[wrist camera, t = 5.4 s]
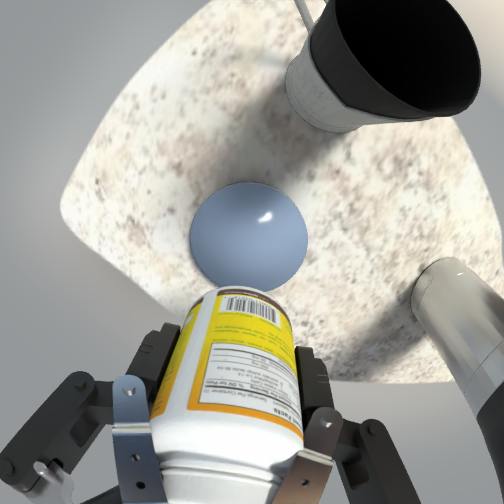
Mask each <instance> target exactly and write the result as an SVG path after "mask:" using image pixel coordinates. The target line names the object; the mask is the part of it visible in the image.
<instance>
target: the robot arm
mask: <svg viewBox="0 0 504 504" xmlns="http://www.w3.org/2000/svg"><path fill="white" fill-rule="evenodd" d="M411 309H412V312H413V314H414V315H415V317H416V318H417V320H418V321H419V323H420V324H421V326H422V327H423V329H424V330H425V332H426V333H427V335H428V336H429V338H430V339H431V341H432V343H433V344H434V346H435V347H436V349H437V350H438V352H439V354H440V355H441V357H442V358H443V360H444V362H445V363H446V365H447V367H448V368H449V370H450V372H451V374H452V375H453V377H454V379H455V380H456V382H457V384H458V386H459V388H460V389H461V391H462V393H463V395H464V397H465V398H466V400H467V402H468V404H469V406H470V408H471V410H472V412H473V414H474V416H475V418H476V420H477V422H478V424H479V426H480V428H481V430H482V433H483V436H484V439H485V442H486V445H487V448H488V451H489V453H490V456H491V458H492V460H493V464H494V467H495V470H496V473H497V476H498V480H499V484H500V488H501V492H502V498H503V503H504V299H503V298H502V297H501V296H500V295H499V294H498V293H497V292H496V291H494V290H493V289H492V288H491V287H490V286H489V285H488V284H487V283H486V282H485V281H483V280H482V279H481V278H480V277H479V276H478V275H477V274H476V273H474V272H473V271H472V270H471V269H470V268H468V267H467V266H466V265H465V264H463V263H462V262H461V261H460V260H458V259H456V258H454V257H447V258H443V259H440V260H438V261H436V262H435V263H433V264H432V265H431V266H429V267H428V268H427V269H426V270H425V271H424V272H423V274H422V275H421V276H420V278H419V279H418V281H417V283H416V285H415V287H414V289H413V292H412V296H411ZM179 335H180V326H179V325H174V324H170V323H165V324H164V325H163V327H162V329H161V331H160V332H158V331H154V330H153V331H151V332H150V333H149V334H147V335H146V336H145V338H144V340H143V341H142V343H141V345H140V347H139V349H138V351H137V353H136V355H135V357H134V359H133V361H132V363H131V364H130V366H129V368H128V371H127V372H126V374H125V375H123V376H120V377H119V378H117V379H116V380H115V381H112V382H104V381H94V379H93V377H92V376H91V375H90V374H89V373H87V372H83V371H77V372H74V373H72V374H70V375H69V376H68V377H67V378H66V379H65V380H64V381H63V382H62V383H61V384H60V386H59V387H58V388H57V389H56V390H55V391H54V392H53V393H52V394H51V395H50V397H48V399H47V400H46V401H45V402H44V403H43V404H42V405H41V406H40V407H39V409H38V410H37V411H36V412H35V413H34V414H33V415H32V416H31V418H30V419H29V420H28V421H27V422H26V423H25V424H24V426H23V427H22V428H21V429H20V430H19V431H18V433H17V434H16V435H15V436H14V437H13V439H12V440H11V441H10V442H9V443H8V445H7V446H6V447H5V448H4V449H3V451H2V452H1V453H0V479H1V480H2V481H3V482H5V483H6V484H8V485H9V486H11V487H12V488H13V489H15V490H16V491H18V492H19V493H21V494H23V495H25V496H26V497H27V498H28V499H29V500H30V501H31V502H32V503H34V504H73V503H72V499H71V496H72V492H73V489H74V482H73V480H72V478H71V476H70V474H71V472H72V471H73V470H74V468H75V467H76V465H77V464H78V462H79V461H80V460H81V458H82V456H83V455H84V454H85V452H86V451H87V449H88V448H89V447H90V445H91V444H92V442H93V441H94V440H95V438H96V437H97V435H98V434H99V433H100V431H101V430H102V429H103V427H104V426H105V425H106V424H111V425H114V427H113V428H112V437H113V447H114V456H115V463H116V470H117V477H118V482H119V485H117V486H115V487H113V488H112V489H110V490H108V491H106V492H104V493H102V494H100V495H98V496H96V497H94V498H91V499H89V500H87V501H85V502H83V503H80V504H169V502H168V499H167V496H166V492H165V488H164V484H163V474H162V473H161V471H163V470H164V469H163V468H159V465H160V461H159V458H158V455H157V452H156V449H155V445H154V441H153V437H152V432H151V427H150V426H149V422H150V418H149V417H150V414H151V411H152V408H153V405H154V402H155V400H156V397H157V394H158V391H159V389H160V386H161V383H162V380H163V377H164V375H165V372H166V369H167V367H168V364H169V361H170V359H171V356H172V353H173V351H174V348H175V346H176V343H177V340H178V338H179ZM294 353H295V362H296V370H297V379H298V388H299V397H300V407H301V418H302V429H303V451H302V450H299V451H298V452H297V454H296V456H295V458H294V459H293V461H292V462H291V464H290V465H289V466H288V467H287V468H286V469H285V471H284V472H283V473H282V474H281V475H280V476H279V478H280V479H281V480H282V481H281V483H280V485H279V487H278V489H277V491H276V493H275V495H274V497H273V499H272V501H271V503H270V504H318V503H319V500H320V498H321V496H322V493H323V491H324V488H325V486H326V483H327V481H328V478H329V475H330V473H331V470H332V467H333V461H332V460H335V462H336V465H337V468H338V471H339V474H340V477H341V480H342V482H343V485H344V488H345V491H346V494H347V497H348V500H349V503H350V504H421V502H420V500H419V498H418V495H417V493H416V491H415V488H414V486H413V484H412V482H411V480H410V478H409V475H408V473H407V471H406V469H405V467H404V465H403V462H402V460H401V458H400V456H399V454H398V452H397V450H396V448H395V446H394V443H393V441H392V439H391V437H390V435H389V433H388V431H387V429H386V427H385V426H384V425H383V423H381V422H380V421H378V420H375V419H368V420H365V421H364V422H363V423H362V424H359V423H355V422H351V421H348V420H345V419H343V418H342V416H341V414H340V413H339V412H338V411H337V410H335V408H334V404H333V399H332V393H331V388H330V384H329V378H328V374H327V369H326V366H325V364H324V363H323V362H322V360H321V359H318V358H314V354H313V349H312V348H311V347H302V346H296V348H295V350H294Z"/></svg>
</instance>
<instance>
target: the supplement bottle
mask: <svg viewBox="0 0 504 504" xmlns="http://www.w3.org/2000/svg"><path fill="white" fill-rule="evenodd" d="M149 418H150V422H149V426H150V427H151V432H152V437H153V441H154V445H155V449H156V452H157V455H158V458H159V461H160V465H159V468H163V469H164V470H163V471H161V473H162V474H163V484H164V488H165V492H166V496H167V499H168V502H169V504H270V503H271V501H272V499H273V497H274V495H275V493H276V491H277V489H278V487H279V485H280V483H281V481H282V480H281V479H280V478H279V476H280V475H281V474H282V473H283V472H284V471H285V469H286V468H287V467H288V466H289V465H290V464H291V462H292V461H293V459H294V458H295V456H296V454H297V452H298V451H299V450H302V451H303V429H302V418H301V407H300V397H299V388H298V379H297V370H296V362H295V353H294V344H293V336H292V328H291V323H290V320H289V317H288V315H287V313H286V311H285V310H284V308H283V307H282V306H281V304H280V303H279V302H278V301H276V300H275V299H274V298H273V297H271V296H270V295H268V294H266V293H264V292H262V291H260V290H257V289H254V288H251V287H245V286H226V287H221V288H217V289H214V290H212V291H210V292H208V293H206V294H204V295H203V296H201V297H200V298H199V299H198V300H197V301H196V302H195V303H194V304H193V306H192V307H191V309H190V311H189V313H188V315H187V318H186V320H185V322H184V325H183V328H182V330H181V333H180V335H179V338H178V340H177V343H176V346H175V348H174V351H173V353H172V356H171V359H170V361H169V364H168V367H167V369H166V372H165V375H164V377H163V380H162V383H161V386H160V389H159V391H158V394H157V397H156V400H155V402H154V405H153V408H152V411H151V414H150V417H149Z"/></svg>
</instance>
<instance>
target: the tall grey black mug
mask: <svg viewBox="0 0 504 504" xmlns="http://www.w3.org/2000/svg"><path fill="white" fill-rule="evenodd" d="M294 1H295V3H296V6H297V8H298V10H299V12H300V14H301V17H302V19H303V21H304V24H305V26H306V28H307V31H308V33H309V34H308V37H307V39H306V41H305V43H304V46H303V48H302V50H301V53H300V54H299V55H297V56H296V57H295V58H294V60H293V61H292V62H291V64H290V66H289V68H288V70H287V74H286V80H285V86H286V92H287V96H288V99H289V101H290V103H291V105H292V107H293V108H294V110H295V111H296V112H297V114H298V115H299V116H300V117H301V118H302V119H303V120H305V121H306V122H308V123H309V124H310V125H312V126H314V127H316V128H318V129H321V130H324V131H328V132H333V133H343V132H349V131H352V130H355V129H357V128H359V127H361V126H363V125H371V124H383V123H398V122H414V121H423V120H429V119H432V118H434V117H449V116H453V115H456V114H459V113H461V112H462V111H464V110H466V109H467V108H468V107H469V106H470V105H471V104H472V103H473V101H474V99H475V97H476V96H477V93H478V90H479V87H480V81H481V65H480V59H479V54H478V50H477V47H476V44H475V42H474V40H473V37H472V35H471V33H470V31H469V29H468V27H467V25H466V24H465V23H464V21H463V19H462V18H461V16H460V15H459V14H458V13H457V11H456V10H455V9H454V8H453V7H452V5H451V4H450V3H449V2H448V1H447V0H324V1H325V3H326V4H327V5H326V7H325V9H324V11H323V13H322V15H321V16H320V17H319V18H318V19H317V20H316V21H315V23H313V20H312V18H311V15H310V13H309V11H308V9H307V6H306V4H305V2H304V0H294Z"/></svg>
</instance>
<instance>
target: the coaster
mask: <svg viewBox="0 0 504 504" xmlns="http://www.w3.org/2000/svg"><path fill="white" fill-rule="evenodd" d="M190 242H191V249H192V253H193V256H194V258H195V260H196V262H197V264H198V266H199V267H200V269H201V270H202V272H203V273H204V274H205V275H206V276H207V277H208V278H209V279H210V280H212V281H213V282H214V283H216V284H217V285H219V286H221V287H226V286H245V287H251V288H254V289H257V290H260V291H262V292H267V291H270V290H273V289H275V288H277V287H279V286H281V285H283V284H284V283H286V282H287V281H288V280H289V279H291V278H292V276H293V275H294V274H295V273H296V272H297V271H298V269H299V268H300V266H301V264H302V263H303V260H304V258H305V255H306V251H307V245H308V234H307V229H306V225H305V222H304V219H303V217H302V215H301V213H300V211H299V209H298V208H297V206H296V205H295V204H294V202H293V201H292V200H291V199H290V198H289V197H288V196H286V195H285V194H284V193H282V192H281V191H279V190H278V189H276V188H274V187H271V186H269V185H265V184H262V183H256V182H241V183H235V184H231V185H228V186H226V187H223V188H221V189H220V190H218V191H216V192H215V193H214V194H212V195H211V196H210V197H209V198H208V199H207V200H206V201H205V202H204V203H203V204H202V206H201V207H200V208H199V210H198V211H197V213H196V215H195V217H194V220H193V223H192V227H191V233H190Z"/></svg>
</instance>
